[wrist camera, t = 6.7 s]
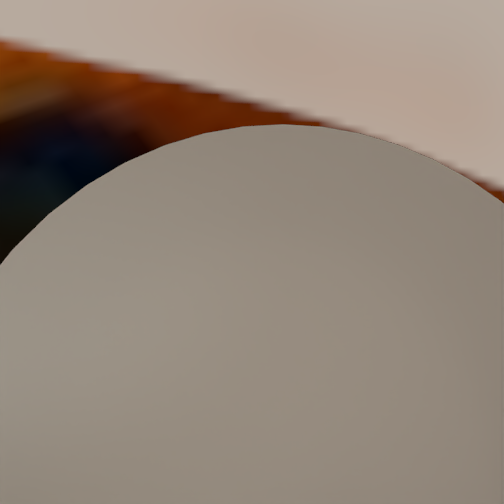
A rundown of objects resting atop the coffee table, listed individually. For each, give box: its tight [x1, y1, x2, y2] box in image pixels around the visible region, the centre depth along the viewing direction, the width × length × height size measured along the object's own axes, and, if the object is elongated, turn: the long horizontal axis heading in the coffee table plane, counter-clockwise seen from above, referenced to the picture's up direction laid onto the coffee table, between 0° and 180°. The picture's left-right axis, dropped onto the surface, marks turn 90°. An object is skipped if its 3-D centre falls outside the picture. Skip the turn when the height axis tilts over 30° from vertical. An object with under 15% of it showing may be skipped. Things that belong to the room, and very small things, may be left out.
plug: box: [0, 124, 504, 504], centre depth 8 cm, size 6×6×13 cm
